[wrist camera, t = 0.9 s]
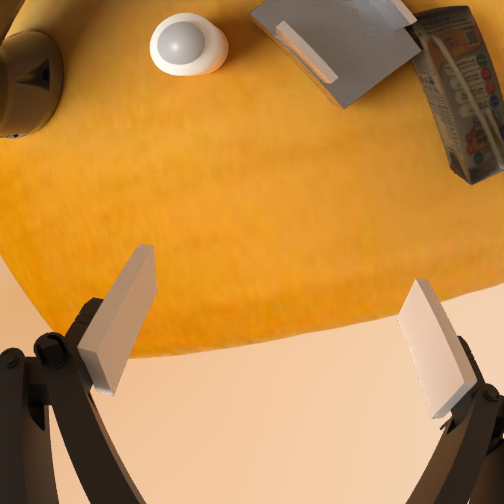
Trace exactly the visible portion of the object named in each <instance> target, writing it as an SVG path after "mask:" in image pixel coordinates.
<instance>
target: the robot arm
mask: <svg viewBox="0 0 504 504" xmlns="http://www.w3.org/2000/svg"><path fill="white" fill-rule="evenodd" d="M24 2H25V0H0V138H20V137H24V136H26V135H29V134H31V133H34V132H36V131H37V130H39V129H40V128H41V127H43V126H44V125H45V124H46V122H47V121H48V120H49V119H50V117H51V116H52V114H53V112H54V110H55V108H56V106H57V104H58V101H59V98H60V94H61V90H62V83H63V65H62V59H61V55H60V52H59V50H58V47H57V46H56V44H55V42H54V41H53V40H52V39H51V38H50V37H49V36H47V35H46V34H44V33H41V32H36V31H25V32H19V33H16V34H13V35H11V36H10V37H8V38H6V39H4V38H5V36H6V35H7V33H8V31H9V29H10V27H11V25H12V23H13V21H14V19H15V18H16V16H17V14H18V12H19V11H20V9H21V7H22V5H23V4H24ZM156 293H157V281H156V269H155V255H154V246H151V245H143V244H139V245H138V247H137V248H136V250H135V251H134V253H133V254H132V256H131V257H130V259H129V260H128V262H127V263H126V265H125V267H124V268H123V270H122V271H121V273H120V274H119V276H118V278H117V279H116V281H115V283H114V284H113V286H112V287H111V289H110V291H109V292H108V294H107V296H106V297H105V299H99V298H94V297H93V298H92V299H91V300H89V301H88V302H87V303H85V304H84V306H83V307H82V309H81V311H80V312H79V315H77V317H76V319H75V322H73V323H72V325H71V327H70V328H69V330H68V332H67V333H66V335H65V337H64V336H62V335H61V334H59V333H55V332H50V333H46V334H44V335H42V336H40V337H39V338H38V339H37V340H36V342H35V344H34V353H35V355H36V357H25V356H24V354H23V352H22V351H21V350H20V349H18V348H9V349H6V350H5V351H3V352H2V353H1V355H0V504H59V500H58V495H57V489H56V483H55V476H54V469H53V462H52V452H51V441H50V427H49V408H48V407H49V406H48V405H52V407H53V411H54V414H55V417H56V420H57V423H58V426H59V429H60V432H61V435H62V438H63V440H64V443H65V446H66V449H67V451H68V454H69V456H70V459H71V461H72V464H73V466H74V468H75V471H76V473H77V476H78V478H79V480H80V482H81V485H82V487H83V489H84V491H85V493H86V495H87V497H88V499H89V501H90V503H91V504H146V502H145V501H144V499H143V498H142V496H141V494H140V493H139V491H138V489H137V487H136V486H135V484H134V483H133V481H132V479H131V477H130V476H129V474H128V472H127V470H126V468H125V466H124V464H123V462H122V461H121V459H120V457H119V455H118V453H117V451H116V449H115V447H114V445H113V443H112V441H111V439H110V437H109V435H108V433H107V430H106V428H105V426H104V424H103V421H102V419H101V417H100V415H99V412H98V410H97V408H96V405H95V403H94V400H93V398H92V395H91V393H90V389H91V387H92V385H94V387H95V389H96V391H98V392H101V393H105V394H109V395H113V396H114V393H115V391H116V388H117V386H118V383H119V381H120V378H121V376H122V373H123V370H124V368H125V365H126V363H127V360H128V358H129V356H130V353H131V351H132V348H133V346H134V343H135V341H136V339H137V336H138V334H139V331H140V329H141V327H142V324H143V322H144V320H145V317H146V315H147V313H148V311H149V308H150V306H151V304H152V301H153V299H154V297H155V295H156ZM397 319H398V322H399V325H400V327H401V330H402V333H403V336H404V338H405V341H406V344H407V347H408V350H409V352H410V355H411V358H412V361H413V364H414V367H415V370H416V373H417V376H418V380H419V383H420V386H421V389H422V392H423V396H424V399H425V403H426V406H427V409H428V413H429V417H430V419H435V418H443V417H444V416H445V415H446V414H447V413H448V412H449V411H450V410H451V413H452V417H451V418H450V419H449V420H447V421H446V422H445V423H444V424H443V425H442V426H441V428H440V430H442V429H443V428H444V427H445V426H446V427H445V430H444V432H443V434H442V436H441V439H440V441H439V443H438V445H437V447H436V449H435V451H434V453H433V455H432V458H431V459H430V461H429V463H428V465H427V467H426V469H425V471H424V473H423V475H422V477H421V479H420V480H419V482H418V484H417V485H416V487H415V489H414V491H413V492H412V494H411V496H410V498H409V499H408V501H407V502H406V504H467V503H468V501H469V504H504V439H503V433H504V396H502V395H500V394H499V392H498V390H497V389H496V388H495V387H494V386H493V385H491V384H488V383H487V384H486V383H485V381H484V379H483V376H482V374H481V372H480V370H479V367H478V365H477V363H476V361H475V360H474V357H473V354H472V353H471V350H470V348H469V346H468V344H467V343H466V341H465V340H464V339H463V338H462V337H461V336H457V335H456V333H455V331H454V329H453V327H452V325H451V323H450V321H449V319H448V317H447V315H446V313H445V311H444V309H443V307H442V305H441V303H440V302H439V300H438V298H437V296H436V294H435V292H434V291H433V289H432V287H431V285H430V284H429V282H428V280H424V279H415V281H414V283H413V286H412V288H411V290H410V292H409V294H408V296H407V298H406V300H405V302H404V304H403V306H402V308H401V310H400V312H399V314H398V316H397ZM469 498H470V500H469Z"/></svg>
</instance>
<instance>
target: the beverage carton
mask: <svg viewBox="0 0 504 504" xmlns="http://www.w3.org/2000/svg"><path fill="white" fill-rule="evenodd" d="M413 16H414V17H415V18H416V19H417V21H416V22H414V23H413V24H411V25H408V26H405V27H404V29H405V30H406V31H407V32H408V34H409V35H410V36H411V37H412V39H413V40H414V41H415V43H416V44H417V45H418V47H419V48H420V49H421V52H419V53H418V54H417V55H415V56H414V57H412V58H411V61H412V64H413V66H414V68H415V70H416V73H417V75H418V77H419V79H420V82H421V84H422V87H423V89H424V92H425V94H426V97H427V99H428V102H429V104H430V107H431V110H432V113H433V115H434V118H435V121H436V124H437V127H438V130H439V133H440V136H441V139H442V142H443V145H444V148H445V151H446V154H447V157H448V161H449V164H450V168H451V169H452V170H453V171H454V173H455V174H457V175H458V176H459V177H461V178H463V179H464V180H465V181H466V182H468V183H469V184H470V185H473V184H475V183H478V182H480V181H482V180H484V179H486V178H488V177H490V176H493V175H495V174H497V173H500V172H502V171H504V101H503V98H502V94H501V90H500V86H499V83H498V79H497V76H496V73H495V70H494V67H493V64H492V61H491V58H490V56H489V53H488V51H487V48H486V45H485V42H484V40H483V38H482V35H481V33H480V30H479V28H478V26H477V24H476V21H475V19H474V17H473V15H472V13H471V11H470V9H469V7H468V6H448V7H441V8H436V9H431V10H427V11H423V12H419V13H416V14H414V15H413Z"/></svg>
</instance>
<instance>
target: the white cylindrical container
mask: <svg viewBox="0 0 504 504" xmlns="http://www.w3.org/2000/svg"><path fill="white" fill-rule="evenodd" d="M228 52H229V44H228V40H227V38H226V36H225V35H224V33H223V32H222V31H221V30H220V29H218V28H217V27H216V26H214V25H213V24H212V23H210V22H209V21H208V20H206V19H205V18H204V17H202V16H200V15H197V14H193V13H180V14H176V15H173V16H171V17H169V18H167V19H165V20H164V21H163V22H162V23H160V24H159V26H158V27H157V28H156V29H155V31H154V33H153V35H152V37H151V41H150V53H151V57H152V59H153V61H154V63H155V64H156V66H157V67H158V68H160V69H161V70H162V71H164V72H166V73H168V74H171V75H178V76H182V75H206V74H209V73H212V72H214V71H216V70H217V69H218V68H220V67H221V66H222V65H223V63H224V62H225V60H226V58H227V56H228Z"/></svg>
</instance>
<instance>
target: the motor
mask: <svg viewBox="0 0 504 504" xmlns="http://www.w3.org/2000/svg"><path fill="white" fill-rule="evenodd" d="M250 14H251V17H252V19H253V21H254V23H255V25H257V26H258V27H259V28H260V29H261V30H262V31H263V32H264V33H265V34H266V35H267V36H269V37H270V38H271V39H272V40H273V41H274V42H275V43H276V44H277V45H278V46H279V47H280V48H281V49H282V50H283V51H284V52H285V53H286V54H287V55H288V56H289V57H290V58H291V59H292V60H293V61H294V62H295V63H296V64H297V65H298V66H299V67H300V68H301V69H302V70H303V71H304V72H305V73H306V74H307V75H308V76H309V78H310V79H311V80H312V81H313V82H314V83H315V84H316V85H317V86H318V87H319V88H320V90H321V91H322V92H323V93H324V94H325V95H326V96H327V97H328V99H329V100H330V101H331V102H332V103H333V104H334V105H336V106H338V107H340V108H342V109H345V108H347V107H348V106H349V105H351V104H352V103H353V102H354V101H356V100H357V99H358V98H359V97H361V96H362V95H363V94H365V93H366V92H367V91H369V90H370V89H371V88H372V87H374V86H375V85H376V84H378V83H379V82H380V81H382V80H383V79H384V78H386V77H387V76H388V75H390V74H391V73H392V72H394V71H395V70H396V69H398V68H399V67H400V66H402V65H403V64H404V63H406V62H407V61H408V60H410V59H411V58H412V57H414V56H415V55H417V54H418V53H419V52H421V49H420V48H419V47H418V45H417V44H416V43H415V41H414V40H413V39H412V37H411V36H410V35H409V34H408V32H407V31H406V30H405V29H404V27H405V26H408V25H411V24H413V23H414V22H416V21H417V19H416V18H415V17H414V16H413V14H412V13H411V12H410V11H409V9H408V8H407V7H406V6H405V5H404V3H403V2H402V1H401V0H266V1H264V2H263V3H262V4H261V5H259V6H258V7H257V8H256V9H254V10H253V11H252V12H251V13H250Z"/></svg>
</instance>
